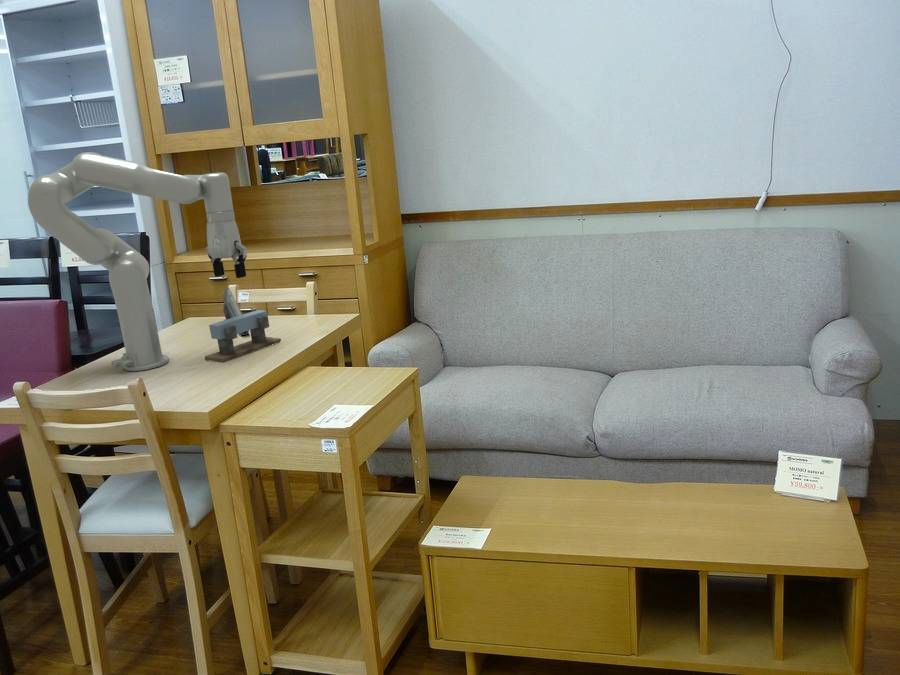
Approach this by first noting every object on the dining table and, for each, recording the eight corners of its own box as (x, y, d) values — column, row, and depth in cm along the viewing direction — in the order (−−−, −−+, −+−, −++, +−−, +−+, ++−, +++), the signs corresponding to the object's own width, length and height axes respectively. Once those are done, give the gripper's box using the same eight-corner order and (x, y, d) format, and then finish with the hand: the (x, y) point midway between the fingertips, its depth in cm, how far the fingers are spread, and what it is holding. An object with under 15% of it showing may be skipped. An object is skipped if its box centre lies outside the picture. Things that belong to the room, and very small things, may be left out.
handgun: (253, 361, 263) (249, 322, 254) (243, 363, 261) (240, 324, 253) (231, 314, 286) (227, 277, 277) (222, 316, 284) (218, 278, 276)
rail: (220, 339, 230) (218, 325, 229) (211, 338, 232) (209, 324, 231) (268, 323, 243) (266, 310, 242) (259, 322, 246) (257, 309, 245)
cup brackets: (222, 362, 229) (217, 331, 226) (205, 359, 233) (199, 329, 231) (281, 341, 245) (276, 312, 243) (263, 339, 250) (259, 311, 248)
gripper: (191, 219, 232) (201, 278, 236) (229, 219, 221) (239, 280, 226) (212, 215, 237) (222, 272, 242) (251, 215, 227) (260, 275, 231)
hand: (230, 276), depth 234 cm, fingers open, 9 cm apart
